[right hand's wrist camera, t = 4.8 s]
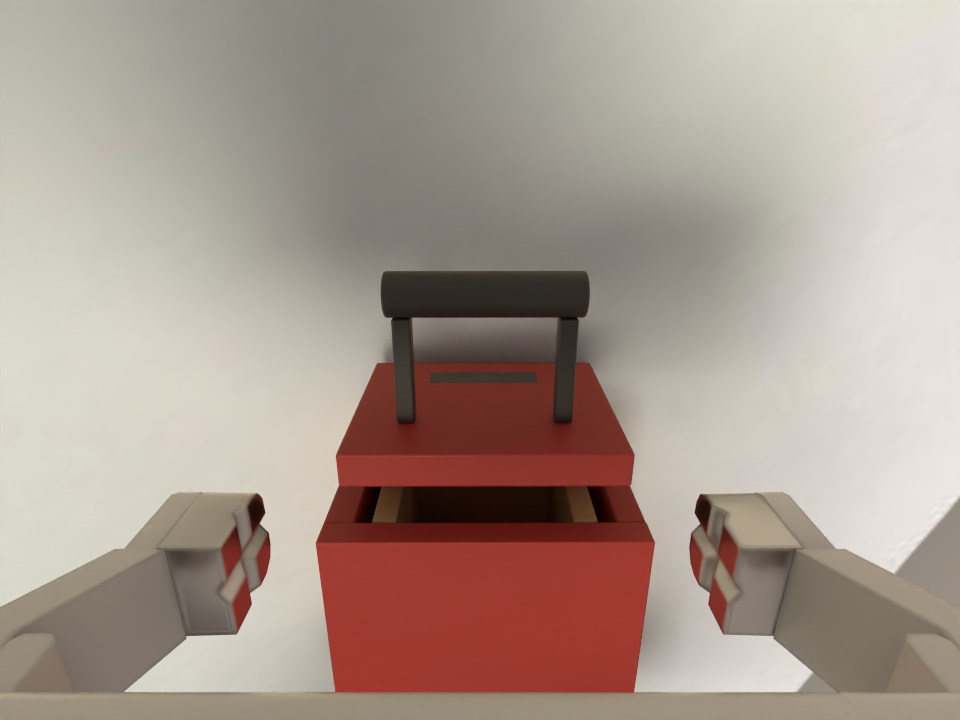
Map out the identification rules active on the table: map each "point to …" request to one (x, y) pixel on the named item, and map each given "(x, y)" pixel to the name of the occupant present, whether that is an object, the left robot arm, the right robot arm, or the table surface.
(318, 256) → the table surface
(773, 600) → the right robot arm
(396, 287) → the drawer
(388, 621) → the red drawer cabinet
